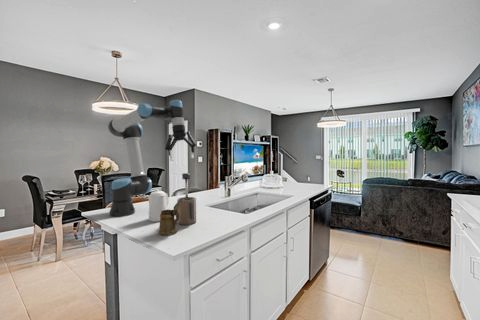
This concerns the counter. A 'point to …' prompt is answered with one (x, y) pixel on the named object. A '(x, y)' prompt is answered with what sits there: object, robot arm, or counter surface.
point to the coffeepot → (157, 204)
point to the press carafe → (187, 211)
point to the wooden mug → (169, 220)
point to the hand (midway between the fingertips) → (182, 159)
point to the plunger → (186, 183)
